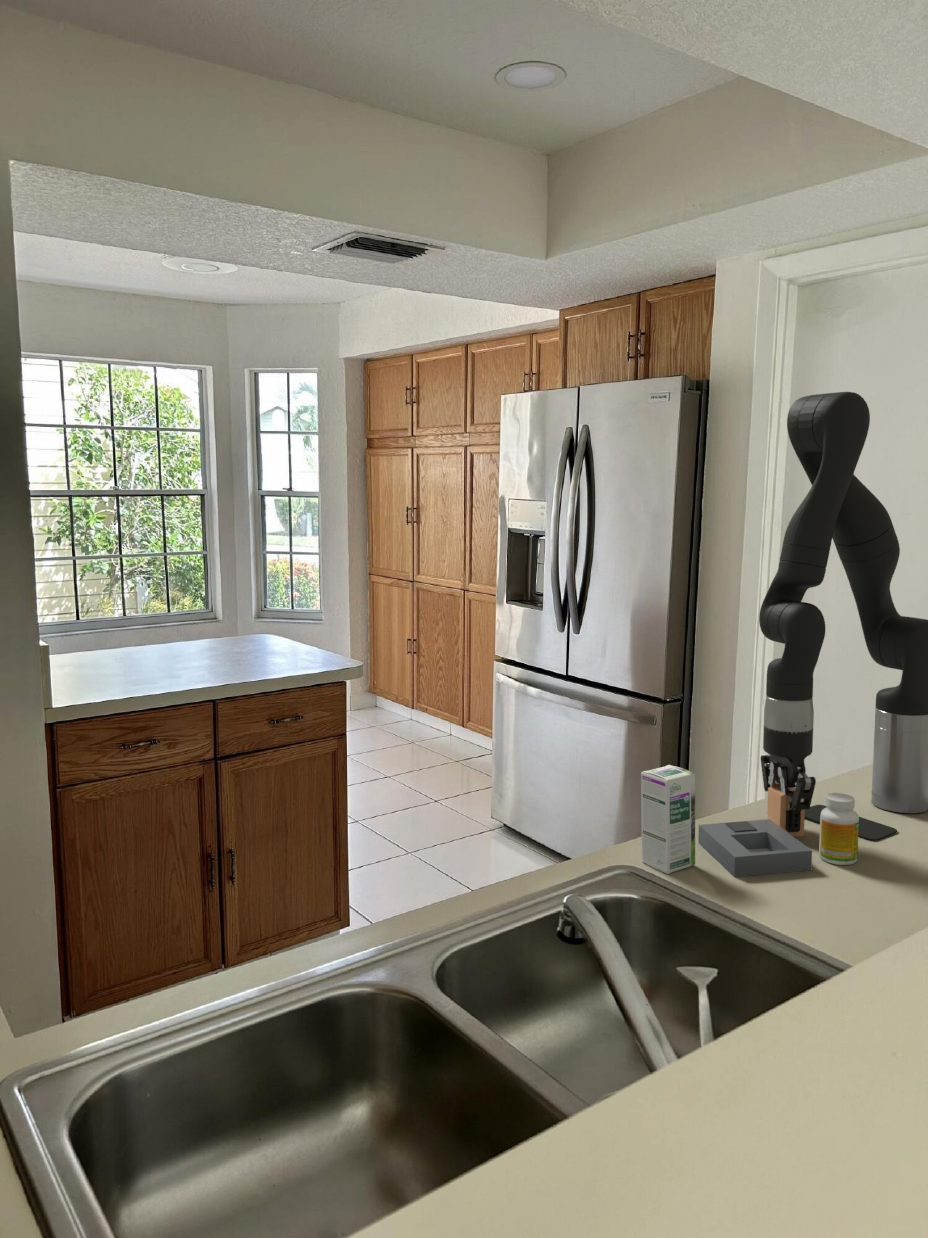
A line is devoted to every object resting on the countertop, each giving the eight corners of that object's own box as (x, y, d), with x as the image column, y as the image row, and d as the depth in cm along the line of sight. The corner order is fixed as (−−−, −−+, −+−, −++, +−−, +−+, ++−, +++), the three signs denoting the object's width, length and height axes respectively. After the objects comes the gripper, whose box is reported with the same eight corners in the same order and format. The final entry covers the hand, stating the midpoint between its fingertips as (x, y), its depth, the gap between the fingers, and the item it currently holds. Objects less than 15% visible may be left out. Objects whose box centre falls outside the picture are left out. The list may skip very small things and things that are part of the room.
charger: (790, 826, 151) (792, 785, 150) (803, 836, 147) (805, 793, 146) (767, 828, 151) (768, 787, 150) (779, 838, 146) (780, 795, 145)
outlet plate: (769, 837, 147) (769, 818, 146) (811, 870, 134) (812, 849, 134) (698, 842, 145) (698, 823, 145) (734, 876, 132) (734, 855, 132)
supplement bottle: (860, 867, 135) (863, 804, 133) (822, 865, 136) (824, 802, 134) (853, 852, 140) (855, 792, 139) (816, 850, 141) (818, 790, 140)
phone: (873, 840, 144) (792, 812, 156) (873, 845, 144) (792, 817, 156) (900, 829, 148) (819, 803, 160) (900, 834, 148) (819, 808, 160)
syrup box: (667, 875, 133) (668, 779, 131) (639, 862, 138) (640, 769, 136) (695, 866, 136) (697, 772, 134) (667, 853, 141) (668, 762, 139)
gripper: (834, 734, 140) (830, 840, 142) (788, 712, 154) (785, 809, 156) (788, 737, 139) (785, 844, 141) (746, 714, 153) (743, 812, 155)
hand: (785, 825), depth 149 cm, fingers closed on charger, 4 cm apart
